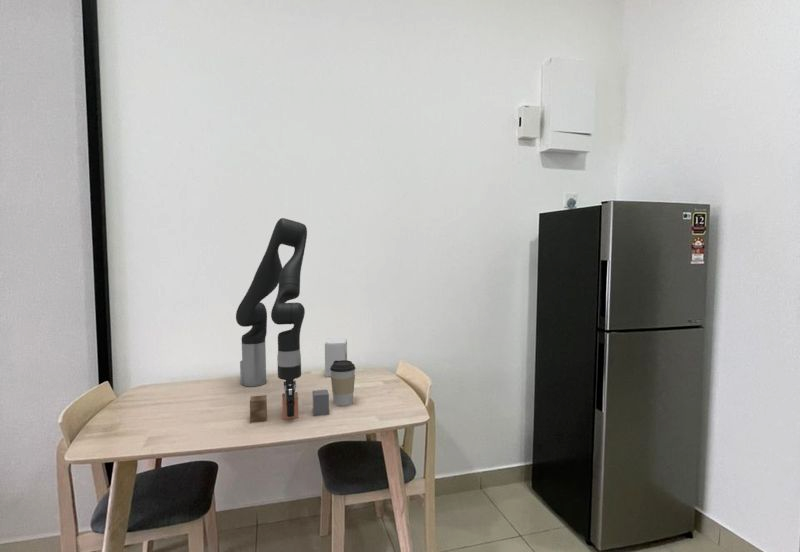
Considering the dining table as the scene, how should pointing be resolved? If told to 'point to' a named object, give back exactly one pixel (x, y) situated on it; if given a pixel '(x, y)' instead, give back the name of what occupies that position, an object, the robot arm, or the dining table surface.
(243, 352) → the robot arm
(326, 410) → the charcoal block
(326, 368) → the supplement box
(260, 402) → the walnut block
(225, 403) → the dining table surface
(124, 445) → the dining table surface
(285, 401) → the terracotta block
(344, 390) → the coffee cup
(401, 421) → the dining table surface
